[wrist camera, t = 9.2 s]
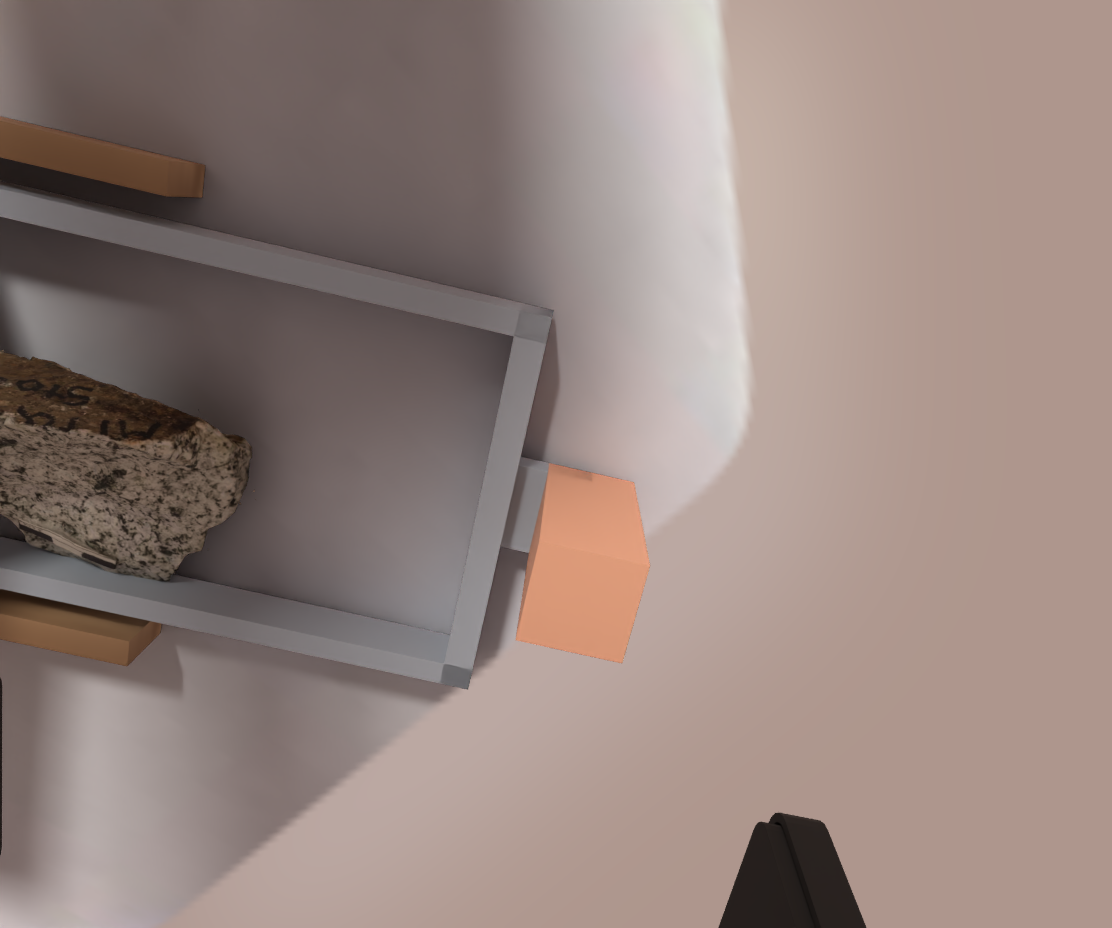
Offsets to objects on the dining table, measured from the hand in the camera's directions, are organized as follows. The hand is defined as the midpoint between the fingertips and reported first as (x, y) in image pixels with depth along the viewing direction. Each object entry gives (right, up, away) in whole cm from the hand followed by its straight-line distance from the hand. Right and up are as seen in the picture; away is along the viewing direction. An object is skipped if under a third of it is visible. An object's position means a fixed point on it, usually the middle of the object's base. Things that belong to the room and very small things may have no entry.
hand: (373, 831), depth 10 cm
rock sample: (-12, +4, +19) cm, 24 cm away
